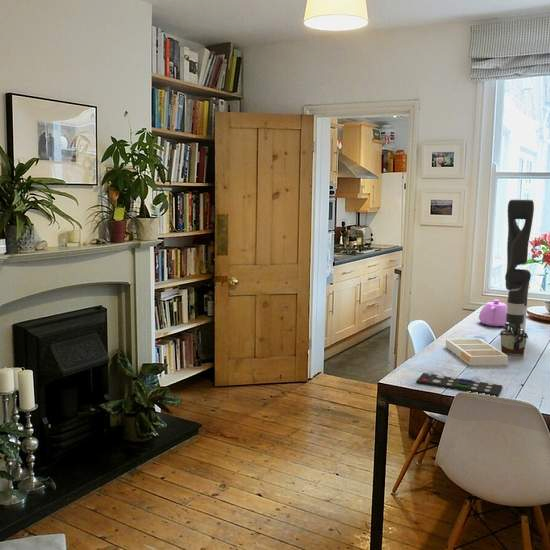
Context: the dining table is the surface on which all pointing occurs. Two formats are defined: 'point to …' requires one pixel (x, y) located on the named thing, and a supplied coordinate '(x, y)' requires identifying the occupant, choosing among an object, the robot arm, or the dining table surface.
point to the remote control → (459, 384)
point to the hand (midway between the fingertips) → (512, 347)
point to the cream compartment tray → (476, 352)
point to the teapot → (493, 313)
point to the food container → (511, 343)
